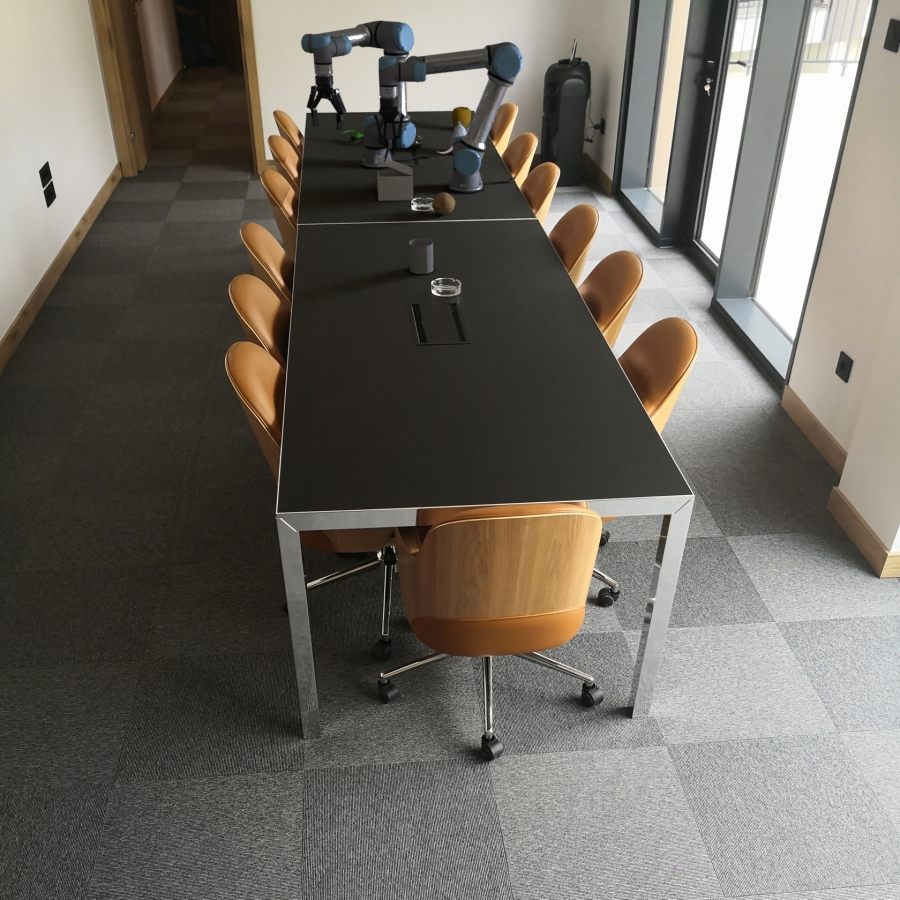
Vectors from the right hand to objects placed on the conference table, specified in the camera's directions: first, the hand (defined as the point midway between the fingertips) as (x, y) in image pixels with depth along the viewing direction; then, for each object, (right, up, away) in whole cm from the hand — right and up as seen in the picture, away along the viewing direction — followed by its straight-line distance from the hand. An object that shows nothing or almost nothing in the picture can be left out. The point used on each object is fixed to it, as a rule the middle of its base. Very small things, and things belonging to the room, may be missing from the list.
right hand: (390, 154), depth 373 cm
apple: (+32, +54, +118) cm, 134 cm away
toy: (+27, +24, +72) cm, 80 cm away
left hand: (-27, +11, 0) cm, 29 cm away
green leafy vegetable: (-18, +38, +93) cm, 103 cm away
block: (-6, -9, +19) cm, 22 cm away
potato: (+23, -28, -10) cm, 38 cm away
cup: (+16, -63, -65) cm, 92 cm away
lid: (+2, -4, +3) cm, 5 cm away
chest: (+2, -15, +10) cm, 18 cm away
